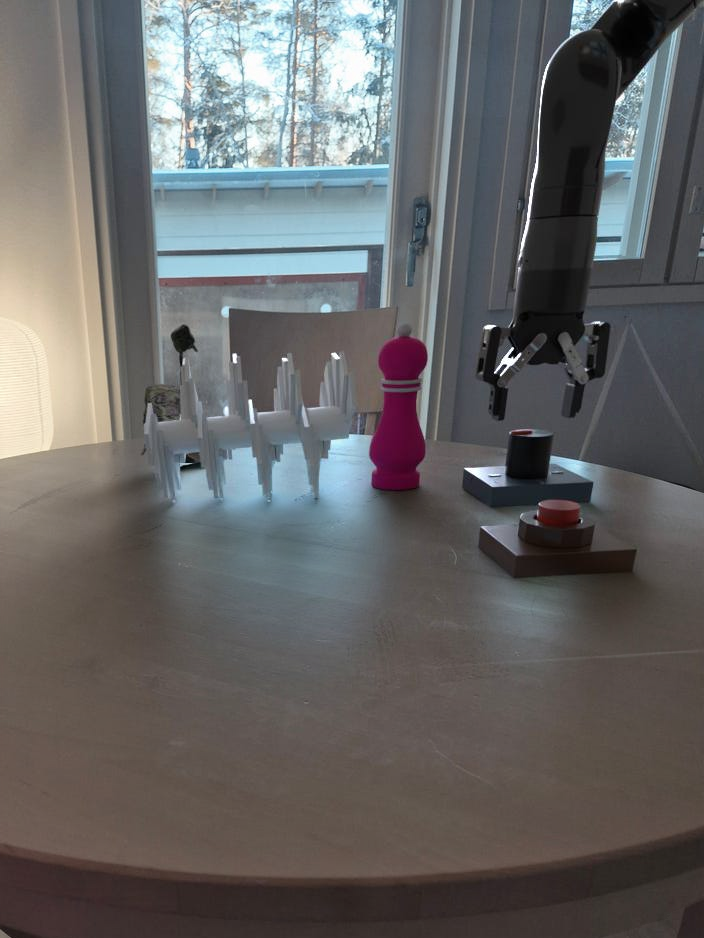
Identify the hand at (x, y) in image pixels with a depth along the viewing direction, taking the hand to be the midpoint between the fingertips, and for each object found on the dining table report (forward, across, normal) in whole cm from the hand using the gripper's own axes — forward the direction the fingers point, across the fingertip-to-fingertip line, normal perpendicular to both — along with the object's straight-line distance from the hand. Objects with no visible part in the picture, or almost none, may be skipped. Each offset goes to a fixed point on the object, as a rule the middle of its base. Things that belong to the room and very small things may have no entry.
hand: (532, 418), depth 88 cm
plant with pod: (+10, -43, +27) cm, 52 cm away
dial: (+7, 0, 0) cm, 7 cm away
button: (+6, -7, -23) cm, 24 cm away
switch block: (+9, -7, -23) cm, 26 cm away
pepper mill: (+10, -14, +8) cm, 19 cm away
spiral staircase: (+10, -34, +5) cm, 36 cm away
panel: (+9, 0, 0) cm, 9 cm away
